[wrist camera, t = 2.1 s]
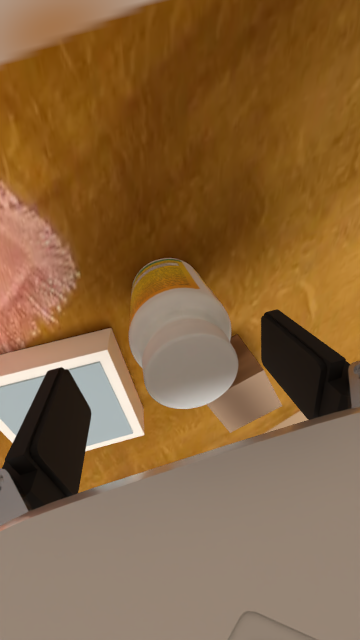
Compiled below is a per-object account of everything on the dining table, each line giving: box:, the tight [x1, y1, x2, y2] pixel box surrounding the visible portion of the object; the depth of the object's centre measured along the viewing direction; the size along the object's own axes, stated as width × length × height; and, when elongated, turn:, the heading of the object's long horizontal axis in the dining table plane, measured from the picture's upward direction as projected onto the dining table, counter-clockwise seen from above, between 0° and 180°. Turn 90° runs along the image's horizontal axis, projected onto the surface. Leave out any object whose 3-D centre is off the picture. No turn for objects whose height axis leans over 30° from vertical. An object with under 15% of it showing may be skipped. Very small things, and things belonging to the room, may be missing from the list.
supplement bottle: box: [129, 258, 238, 409], centre depth 13 cm, size 5×5×10 cm
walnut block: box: [207, 334, 282, 433], centre depth 20 cm, size 5×5×5 cm
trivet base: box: [0, 328, 144, 451], centre depth 19 cm, size 10×10×3 cm
